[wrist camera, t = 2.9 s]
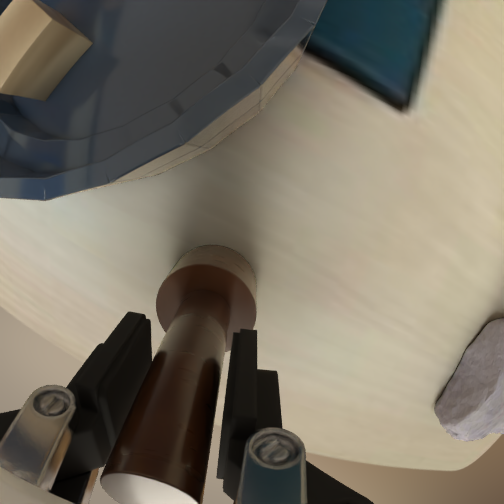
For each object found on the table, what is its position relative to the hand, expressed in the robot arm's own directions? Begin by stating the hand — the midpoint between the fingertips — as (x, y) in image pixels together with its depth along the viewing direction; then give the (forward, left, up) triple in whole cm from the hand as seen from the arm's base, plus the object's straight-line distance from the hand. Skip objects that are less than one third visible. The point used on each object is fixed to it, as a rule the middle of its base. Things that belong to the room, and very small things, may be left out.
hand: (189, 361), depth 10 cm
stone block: (+5, +23, -7) cm, 24 cm away
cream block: (-12, -10, -6) cm, 17 cm away
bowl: (-15, -7, -7) cm, 18 cm away
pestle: (0, 0, -7) cm, 7 cm away
